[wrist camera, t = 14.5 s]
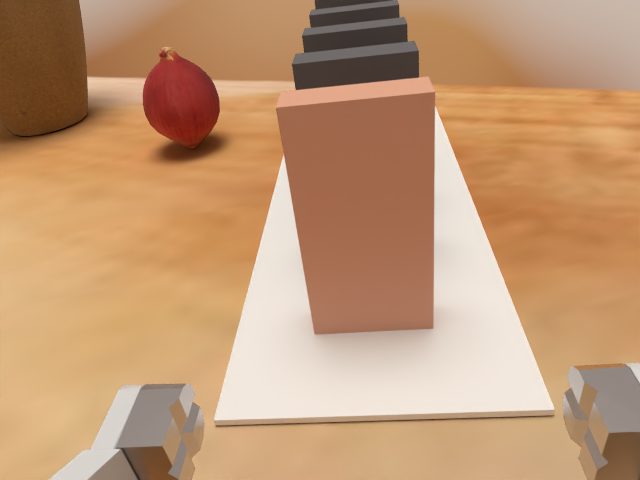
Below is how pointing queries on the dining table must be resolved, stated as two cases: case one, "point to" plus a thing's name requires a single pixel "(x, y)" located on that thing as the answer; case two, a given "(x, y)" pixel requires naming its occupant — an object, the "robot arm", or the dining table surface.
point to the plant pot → (41, 66)
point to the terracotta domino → (364, 201)
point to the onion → (180, 100)
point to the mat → (383, 333)
